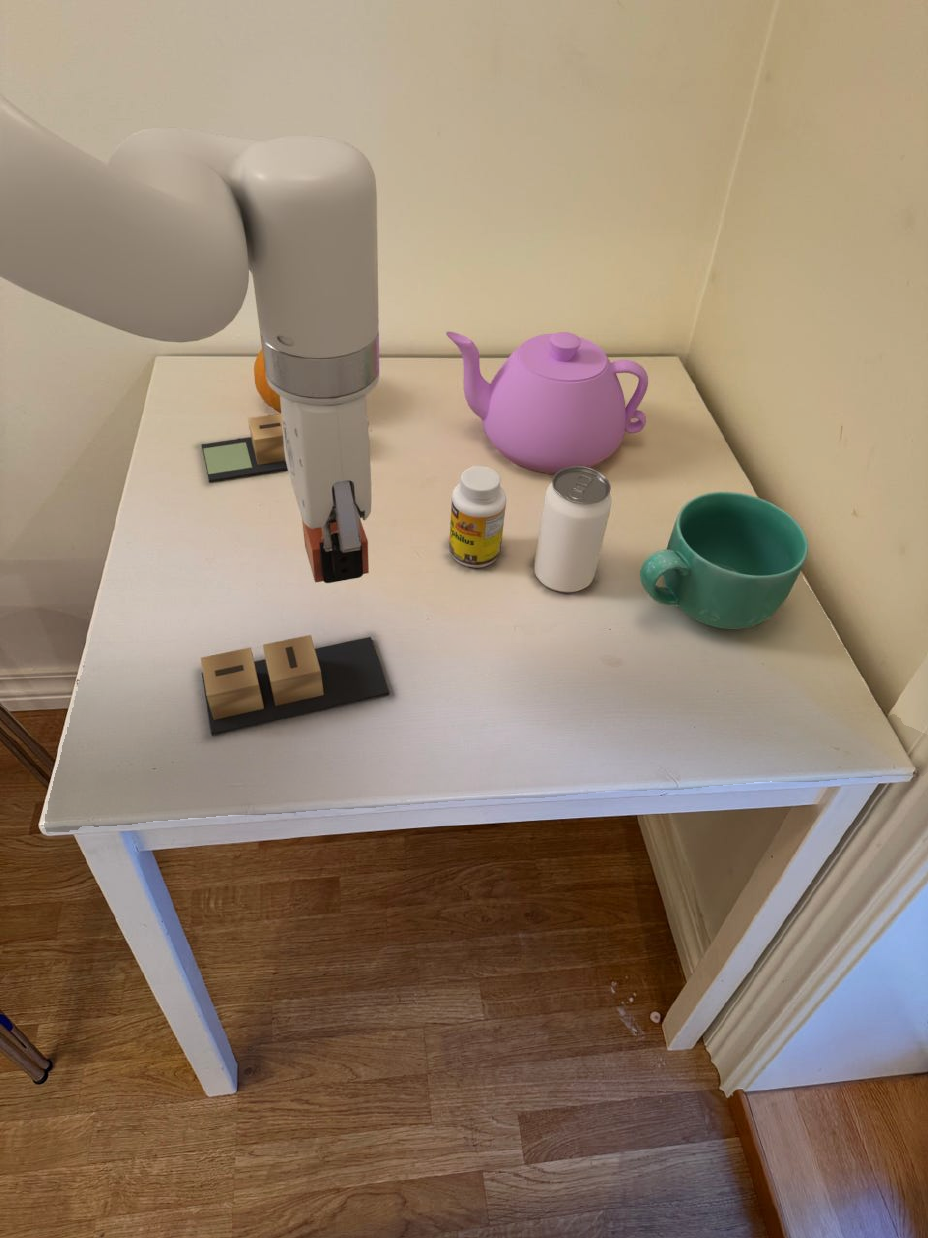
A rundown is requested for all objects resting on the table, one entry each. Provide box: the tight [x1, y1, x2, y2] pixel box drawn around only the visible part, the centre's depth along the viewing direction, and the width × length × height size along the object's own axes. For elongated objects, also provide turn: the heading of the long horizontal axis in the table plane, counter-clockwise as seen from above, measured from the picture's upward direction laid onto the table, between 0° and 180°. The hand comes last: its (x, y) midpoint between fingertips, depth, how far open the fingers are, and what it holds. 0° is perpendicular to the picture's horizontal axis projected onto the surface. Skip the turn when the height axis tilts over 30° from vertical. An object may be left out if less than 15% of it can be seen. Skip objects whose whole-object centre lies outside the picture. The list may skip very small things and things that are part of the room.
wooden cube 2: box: [262, 634, 324, 706], centre depth 75 cm, size 4×4×4 cm
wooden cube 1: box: [200, 647, 264, 720], centre depth 73 cm, size 4×4×4 cm
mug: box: [639, 491, 809, 630], centre depth 83 cm, size 17×13×10 cm
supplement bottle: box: [448, 465, 507, 569], centre depth 86 cm, size 6×6×10 cm
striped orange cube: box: [301, 517, 370, 583], centre depth 67 cm, size 4×4×4 cm
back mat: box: [201, 436, 288, 483], centre depth 99 cm, size 16×7×1 cm, turn 108°
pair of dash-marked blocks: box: [247, 413, 286, 465], centre depth 98 cm, size 10×4×4 cm, turn 108°
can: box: [533, 466, 613, 594], centre depth 84 cm, size 6×6×12 cm
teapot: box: [445, 331, 649, 475], centre depth 99 cm, size 25×18×14 cm
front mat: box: [201, 636, 390, 736], centre depth 76 cm, size 16×7×1 cm, turn 108°
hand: (335, 554), depth 68 cm, fingers closed on striped orange cube, 4 cm apart
